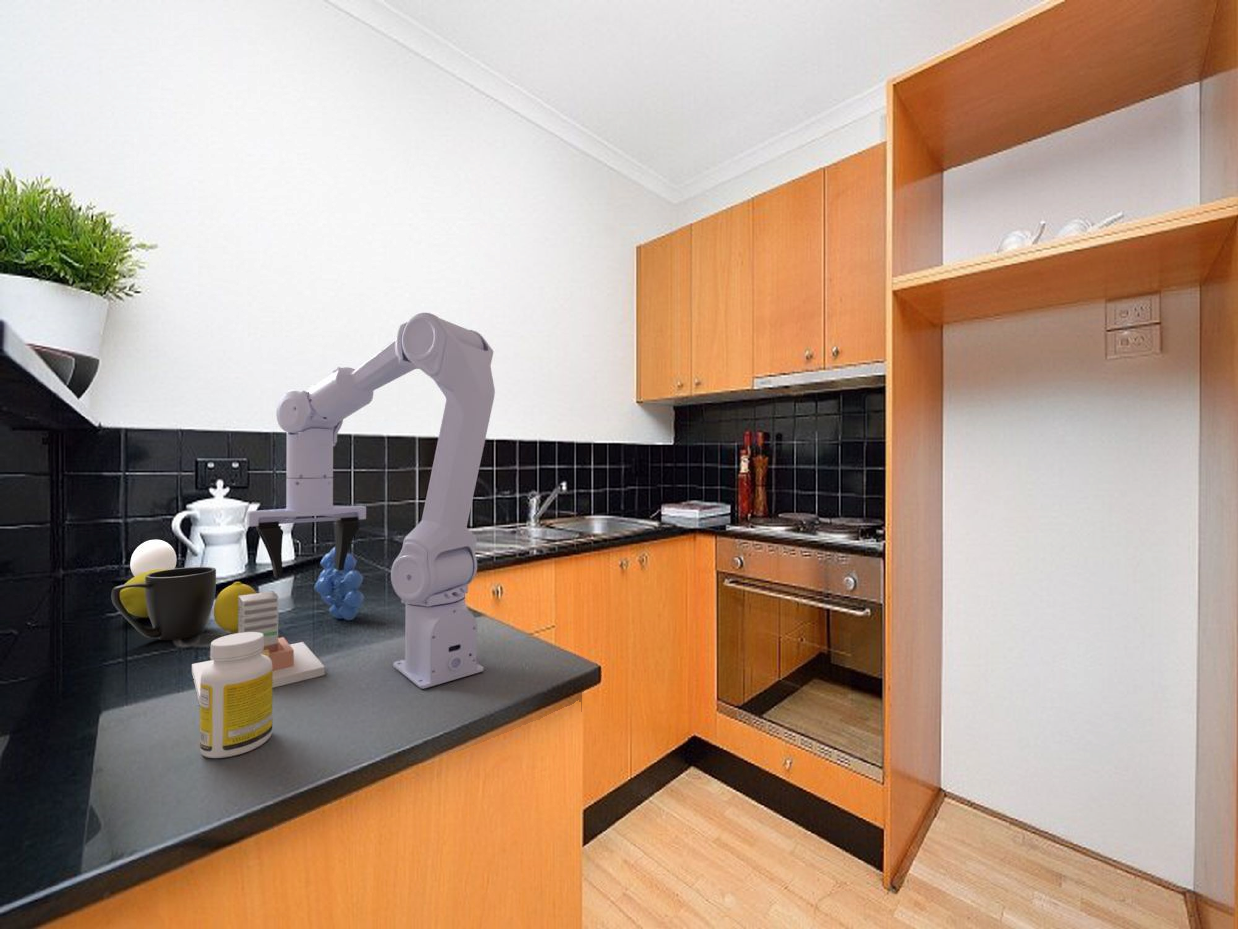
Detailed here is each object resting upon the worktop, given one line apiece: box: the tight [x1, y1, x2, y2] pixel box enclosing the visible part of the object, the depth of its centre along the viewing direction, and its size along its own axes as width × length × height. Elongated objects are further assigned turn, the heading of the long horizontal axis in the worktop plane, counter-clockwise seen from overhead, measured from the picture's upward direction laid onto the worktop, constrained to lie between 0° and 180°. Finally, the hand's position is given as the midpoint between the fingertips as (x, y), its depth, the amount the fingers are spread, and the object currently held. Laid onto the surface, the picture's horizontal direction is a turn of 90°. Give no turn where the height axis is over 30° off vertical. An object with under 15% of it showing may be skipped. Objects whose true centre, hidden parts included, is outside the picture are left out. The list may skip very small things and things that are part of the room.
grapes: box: [313, 546, 365, 621], centre depth 86 cm, size 12×7×12 cm, turn 55°
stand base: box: [191, 636, 326, 705], centre depth 64 cm, size 12×12×4 cm
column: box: [238, 590, 279, 646], centre depth 64 cm, size 4×4×6 cm
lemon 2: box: [213, 581, 257, 634], centre depth 78 cm, size 6×6×8 cm
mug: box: [110, 566, 217, 641], centre depth 77 cm, size 8×12×10 cm
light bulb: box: [129, 539, 178, 577], centre depth 101 cm, size 7×7×11 cm
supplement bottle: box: [199, 632, 274, 759], centre depth 48 cm, size 5×5×10 cm
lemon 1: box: [120, 569, 169, 619], centre depth 87 cm, size 11×8×8 cm
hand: (309, 572), depth 74 cm, fingers open, 7 cm apart
